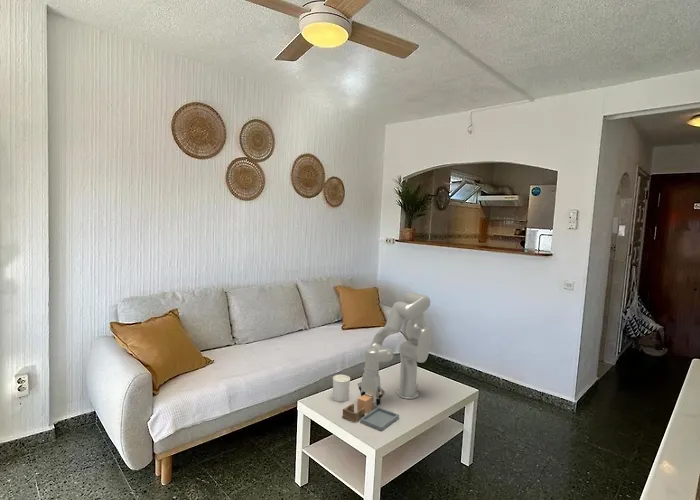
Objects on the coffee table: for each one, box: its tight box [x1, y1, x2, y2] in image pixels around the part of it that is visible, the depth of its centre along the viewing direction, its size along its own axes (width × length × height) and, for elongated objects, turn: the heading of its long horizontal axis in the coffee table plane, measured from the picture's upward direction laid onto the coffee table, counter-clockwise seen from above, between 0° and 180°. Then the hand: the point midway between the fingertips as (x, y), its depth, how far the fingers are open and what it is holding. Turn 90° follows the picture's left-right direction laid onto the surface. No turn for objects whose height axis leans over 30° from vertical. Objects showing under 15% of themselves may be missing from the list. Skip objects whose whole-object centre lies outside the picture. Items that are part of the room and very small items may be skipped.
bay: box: [342, 403, 366, 424], centre depth 200 cm, size 8×8×4 cm
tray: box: [359, 406, 400, 432], centre depth 197 cm, size 17×13×2 cm
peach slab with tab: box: [356, 393, 375, 415], centre depth 209 cm, size 11×5×7 cm, turn 143°
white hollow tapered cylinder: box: [332, 374, 351, 403], centre depth 220 cm, size 10×10×12 cm
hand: (370, 402), depth 212 cm, fingers open, 9 cm apart
